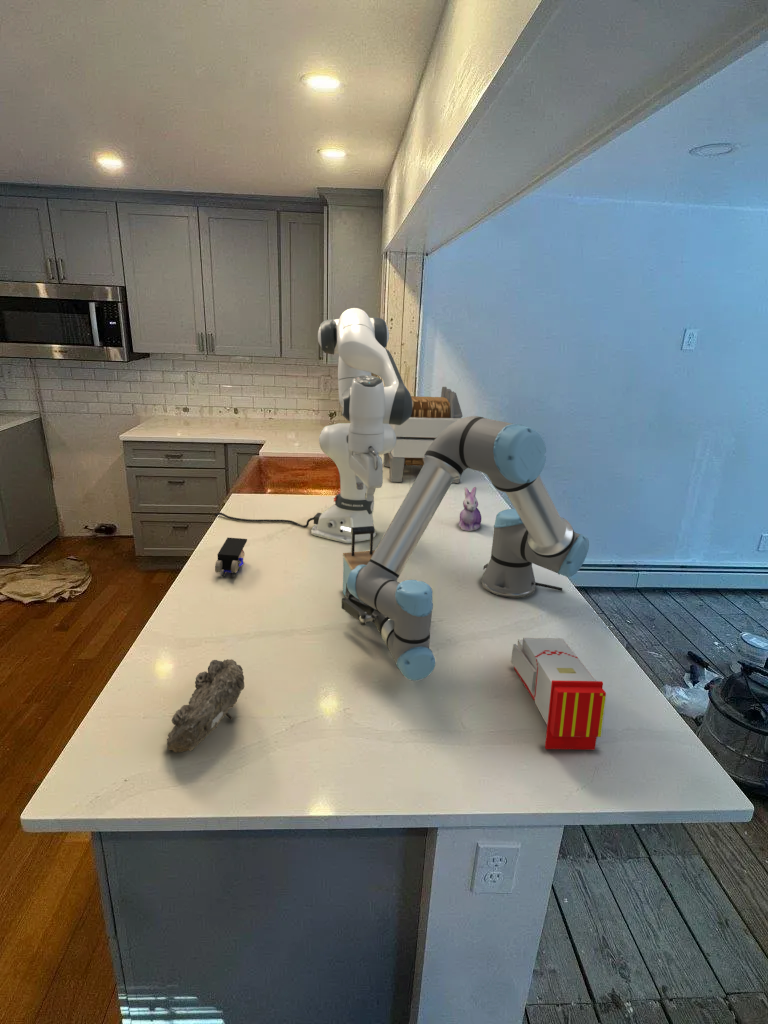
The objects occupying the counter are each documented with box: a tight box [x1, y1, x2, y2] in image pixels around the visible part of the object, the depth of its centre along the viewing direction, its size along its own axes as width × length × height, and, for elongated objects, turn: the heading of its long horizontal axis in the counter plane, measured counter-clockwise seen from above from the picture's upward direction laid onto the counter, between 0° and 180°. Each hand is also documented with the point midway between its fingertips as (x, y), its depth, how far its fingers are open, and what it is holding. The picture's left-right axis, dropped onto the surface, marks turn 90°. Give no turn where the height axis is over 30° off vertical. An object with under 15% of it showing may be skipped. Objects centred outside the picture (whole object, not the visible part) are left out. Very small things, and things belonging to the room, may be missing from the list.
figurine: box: [458, 486, 482, 532], centre depth 206 cm, size 9×10×15 cm
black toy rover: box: [214, 537, 248, 578], centre depth 166 cm, size 7×8×15 cm
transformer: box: [382, 386, 463, 484], centre depth 268 cm, size 34×33×41 cm
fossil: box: [166, 658, 245, 754], centre depth 106 cm, size 22×10×15 cm
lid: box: [342, 525, 376, 571], centre depth 148 cm, size 14×10×9 cm
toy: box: [510, 637, 607, 751], centre depth 115 cm, size 12×13×30 cm
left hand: (364, 494), depth 148 cm, fingers open, 8 cm apart
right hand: (370, 585), depth 148 cm, fingers open, 11 cm apart
